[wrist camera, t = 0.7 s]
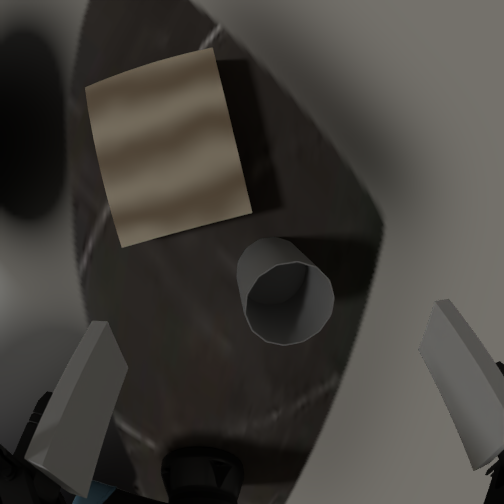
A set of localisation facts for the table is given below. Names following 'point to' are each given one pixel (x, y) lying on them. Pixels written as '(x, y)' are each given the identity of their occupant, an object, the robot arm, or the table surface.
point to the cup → (283, 292)
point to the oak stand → (167, 148)
